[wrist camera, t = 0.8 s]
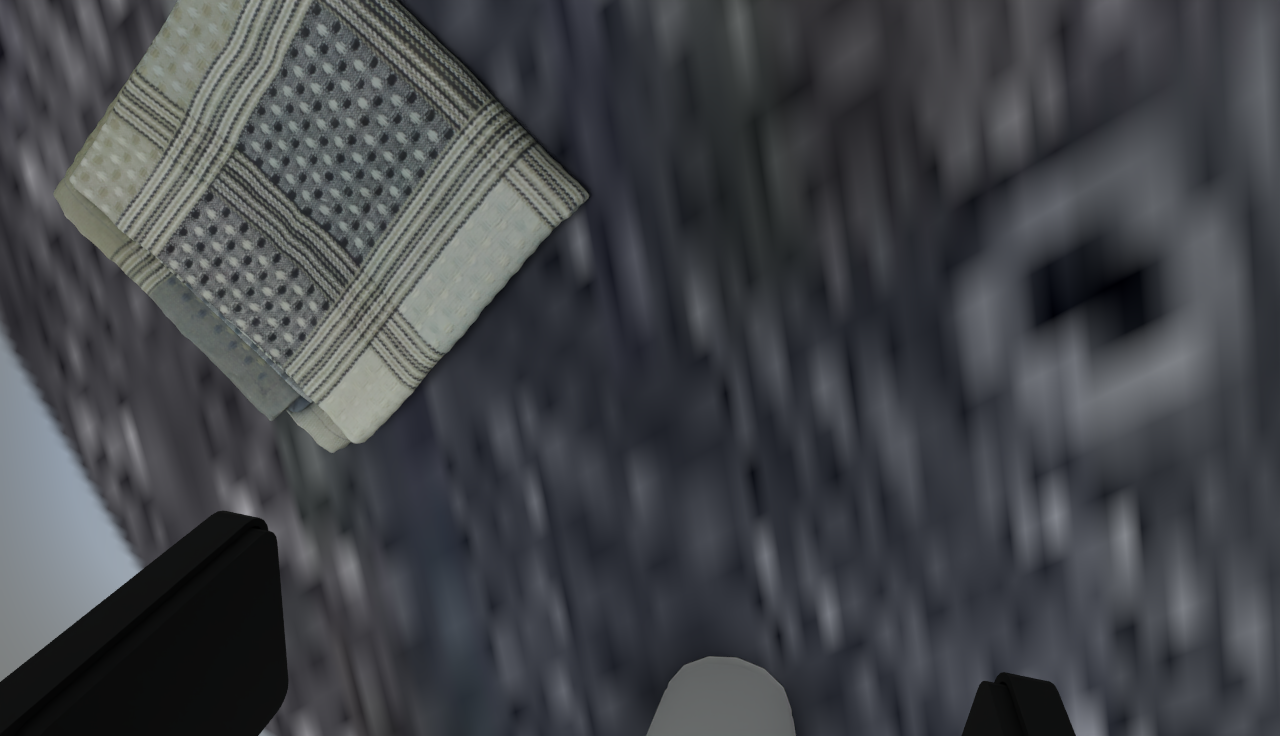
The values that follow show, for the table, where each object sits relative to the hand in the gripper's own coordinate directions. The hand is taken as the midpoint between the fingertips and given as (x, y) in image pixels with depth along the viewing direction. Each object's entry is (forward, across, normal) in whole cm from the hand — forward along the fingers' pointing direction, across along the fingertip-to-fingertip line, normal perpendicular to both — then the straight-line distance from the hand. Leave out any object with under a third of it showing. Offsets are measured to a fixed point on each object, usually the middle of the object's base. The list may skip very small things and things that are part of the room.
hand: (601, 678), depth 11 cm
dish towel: (+25, +18, 0) cm, 31 cm away
